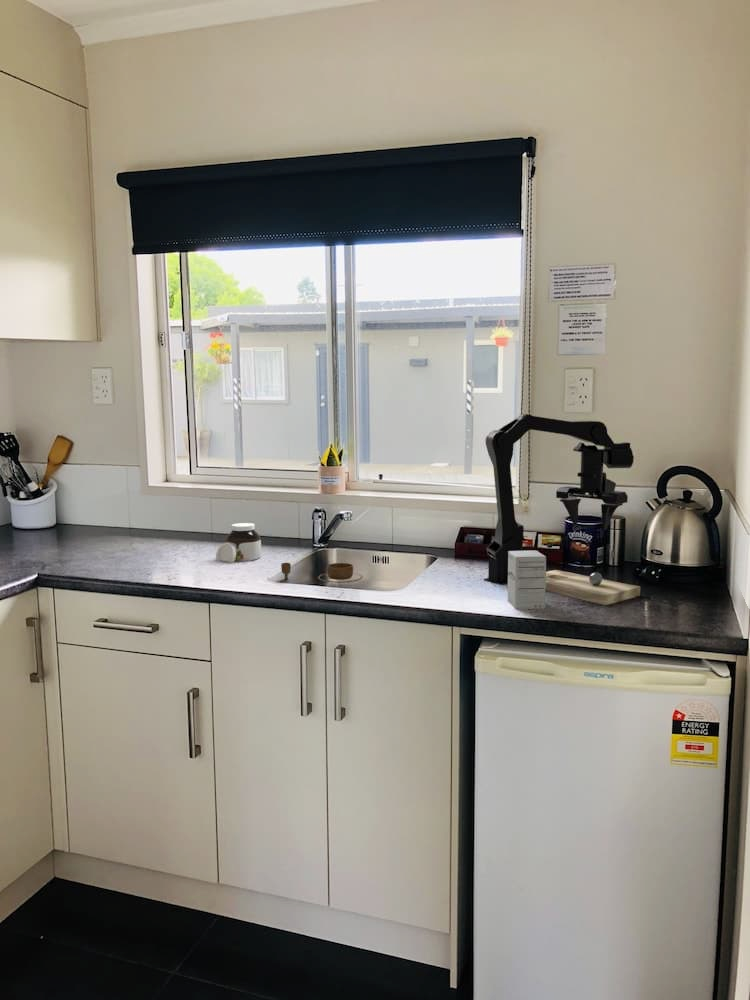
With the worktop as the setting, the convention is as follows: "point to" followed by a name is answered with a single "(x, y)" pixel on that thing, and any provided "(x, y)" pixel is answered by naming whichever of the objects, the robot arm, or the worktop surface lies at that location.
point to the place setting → (329, 571)
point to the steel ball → (595, 578)
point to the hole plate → (589, 588)
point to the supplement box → (526, 579)
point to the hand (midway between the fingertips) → (590, 527)
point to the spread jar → (240, 544)
